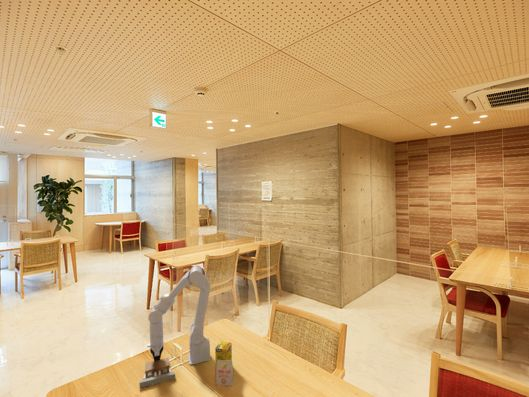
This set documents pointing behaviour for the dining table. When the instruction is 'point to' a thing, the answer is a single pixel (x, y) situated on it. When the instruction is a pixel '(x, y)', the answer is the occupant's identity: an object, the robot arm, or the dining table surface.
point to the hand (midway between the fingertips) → (157, 362)
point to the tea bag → (224, 373)
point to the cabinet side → (157, 379)
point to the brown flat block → (156, 367)
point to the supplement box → (223, 351)
